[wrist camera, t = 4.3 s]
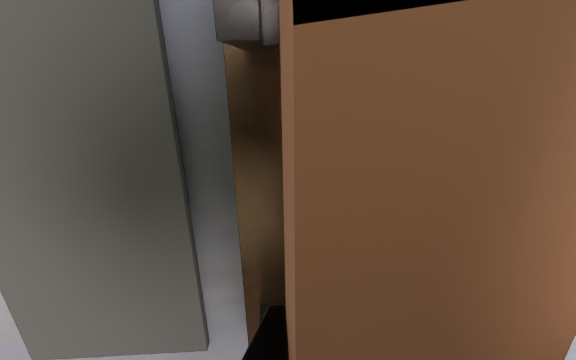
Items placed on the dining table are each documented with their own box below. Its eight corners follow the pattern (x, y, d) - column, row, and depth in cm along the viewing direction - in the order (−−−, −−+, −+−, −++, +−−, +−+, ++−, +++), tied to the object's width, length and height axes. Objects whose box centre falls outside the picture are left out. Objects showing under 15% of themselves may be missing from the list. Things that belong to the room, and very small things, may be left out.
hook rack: (363, 327, 19) (418, 486, 12) (250, 333, 18) (237, 500, 11) (402, -42, 12) (596, -190, 5) (219, -42, 11) (139, -201, 4)
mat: (209, 341, 18) (207, 350, 18) (39, 351, 18) (32, 360, 17) (149, -58, 11) (143, -64, 11) (-141, -59, 11) (-164, -65, 10)
